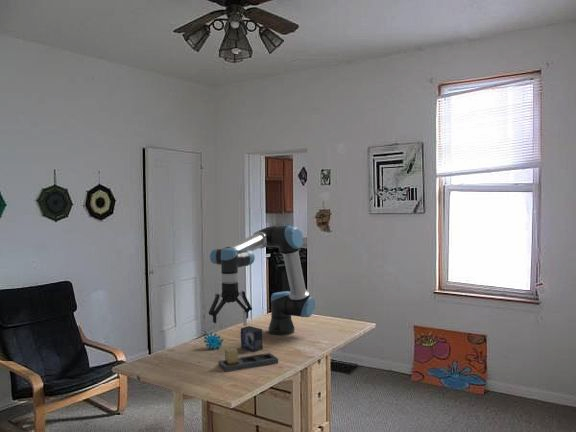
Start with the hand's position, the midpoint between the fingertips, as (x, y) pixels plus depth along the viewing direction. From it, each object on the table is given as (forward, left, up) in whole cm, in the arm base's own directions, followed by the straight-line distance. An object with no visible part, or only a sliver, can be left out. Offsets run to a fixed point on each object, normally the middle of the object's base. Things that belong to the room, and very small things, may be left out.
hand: (231, 327), depth 226 cm
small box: (-18, -22, -18) cm, 34 cm away
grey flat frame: (-8, 0, -18) cm, 20 cm away
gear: (-1, -32, -19) cm, 37 cm away
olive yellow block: (0, 0, -18) cm, 18 cm away
